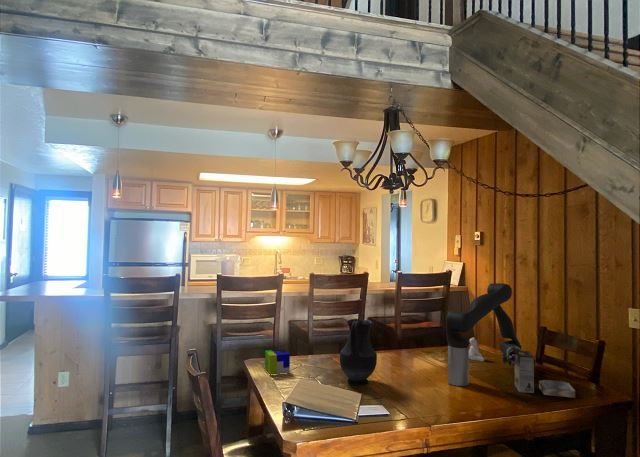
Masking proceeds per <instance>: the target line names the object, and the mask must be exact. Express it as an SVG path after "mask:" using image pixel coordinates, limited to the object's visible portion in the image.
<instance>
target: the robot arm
mask: <svg viewBox="0 0 640 457" xmlns="http://www.w3.org/2000/svg"><path fill="white" fill-rule="evenodd" d="M486 291H487V293H484V294H481V295H479V296H477V297H475V298H474V299H473V300H472V301H471V302H470V305H469V311H460V310H450V311H448V312H447V314H446V318H445V327H446V328H445V331H446V340H447V380H448V381H447V383H448V385H452V386H455V387H456V386H457V387H466V386H469V385H470V365H469V364H470V359H469V349H470V346H469V345H470V342H469V340H468V339H467V338H466V337H464V336H463V335H461V333H467V332H470V330H472V329H473V328H474V327H475V326H476V325H477V324H478V323H479V322H480V320H482V319H483V318H484V317H486V316H487V315H488V314H490V313H491V312H492V311H493V312H494V315H495V318H496V320H497V324H498V328H499V333H500V336H501V338H503V339H510V340H504V341H501V342H500V344H499V349H500V352H501V353H502V356H501V357H502V358H501V359H502V362H503V363H507V364H508V365H510V366H512V365H515V353H514V351H523V349H522V345H521V342H520V340H518V338H517V335H516V332H515V329H514V328H515V327H514V324H513V321H512V318H511V317H510V316H509V314H508V313H507V312H506V311H505V309H503V307H502V304H504V303H507V302H508V301H509V300H510V299H511V298H512V295H513V289H512V287H511V286H510V284H508V283H503V282H502V283H501V282H500V283H499V282H498V283H495V282H494V283H489V284H488V286H487V290H486ZM534 366H536V358H534Z"/></svg>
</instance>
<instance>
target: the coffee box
mask: <svg viewBox="0 0 640 457" xmlns="http://www.w3.org/2000/svg"><path fill="white" fill-rule="evenodd" d="M514 353H515V364H514V387H516V389H517V391H518V392H519V393H527V394H535V365H534V359H535V357H534V355H533V354H532V353H531V352H530V351H528V350H522V351H514Z"/></svg>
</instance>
